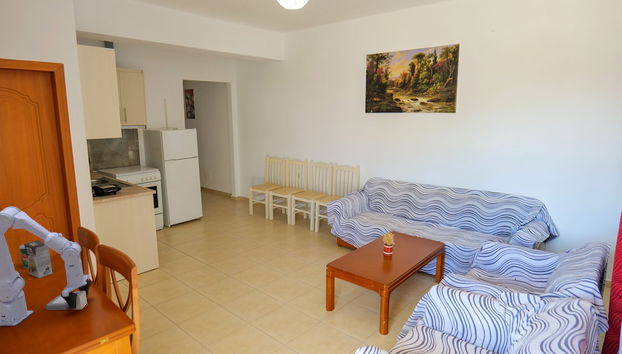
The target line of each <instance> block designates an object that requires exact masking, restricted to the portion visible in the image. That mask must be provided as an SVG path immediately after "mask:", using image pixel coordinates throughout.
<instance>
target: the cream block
mask: <svg viewBox="0 0 622 354" xmlns="http://www.w3.org/2000/svg"><path fill="white" fill-rule="evenodd" d="M73 292H74V293H78V294H77V298H76V309H75V310H82V309H83V308H85V307H86V306H87V305H88V301H87V299H88V298H87V299H86V292H85V291H79V290H74V291H73ZM86 304H87V305H86ZM85 305H86V306H85Z"/></svg>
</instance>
